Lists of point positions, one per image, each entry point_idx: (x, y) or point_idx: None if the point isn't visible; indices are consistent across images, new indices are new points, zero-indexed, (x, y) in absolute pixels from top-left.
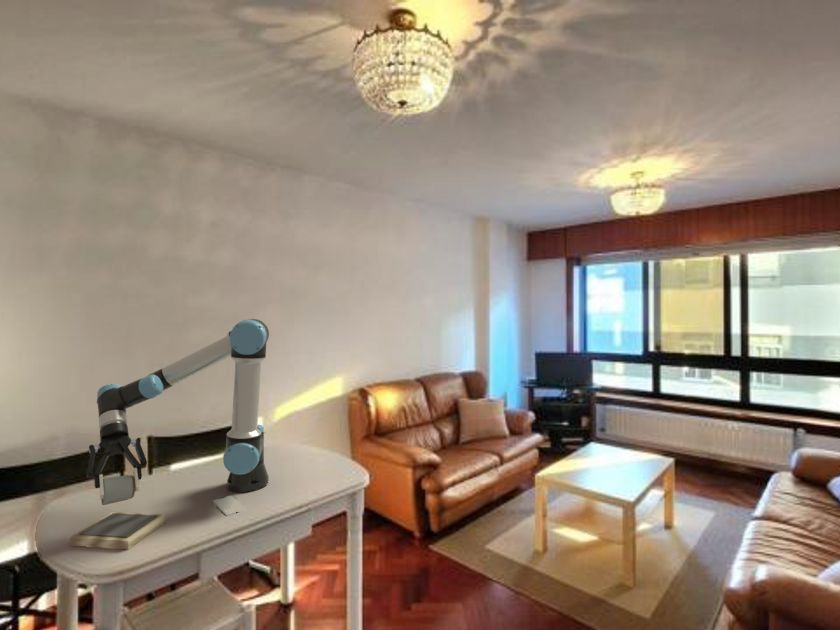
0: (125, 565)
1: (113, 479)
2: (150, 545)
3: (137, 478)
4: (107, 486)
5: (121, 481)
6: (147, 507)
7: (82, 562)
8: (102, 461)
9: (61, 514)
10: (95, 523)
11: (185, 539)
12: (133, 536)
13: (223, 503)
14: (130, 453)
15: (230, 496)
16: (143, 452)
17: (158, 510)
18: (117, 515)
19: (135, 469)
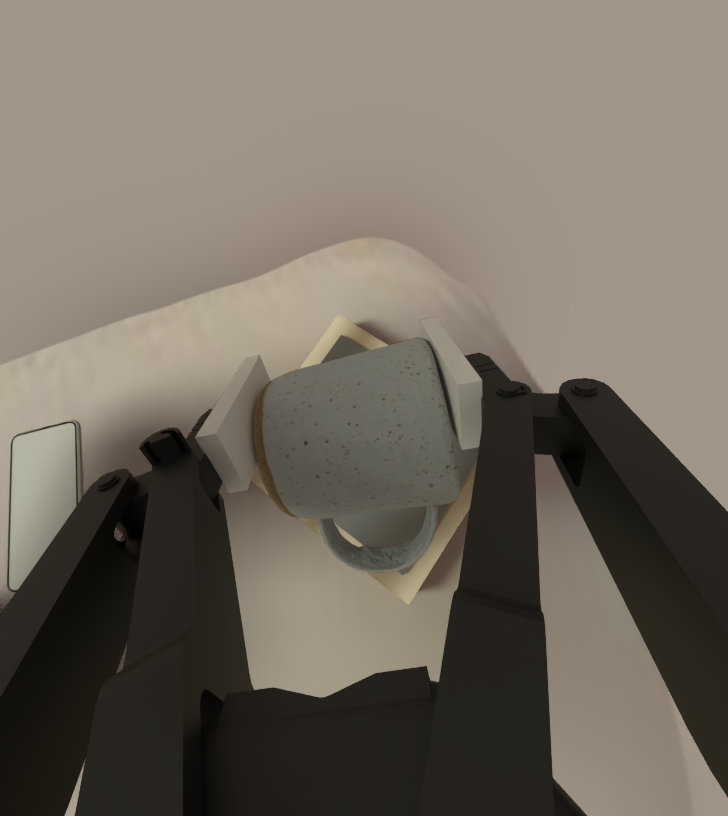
0: (345, 248)
1: (374, 381)
2: (289, 326)
3: (231, 384)
4: (406, 341)
5: (326, 374)
6: (291, 653)
7: (451, 307)
8: (504, 490)
9: (634, 796)
10: (457, 510)
11: (204, 320)
12: (325, 338)
13: (54, 524)
14: (150, 600)
15: (16, 580)
16: (9, 604)
17: (255, 593)
18: (385, 539)
19: (211, 426)
